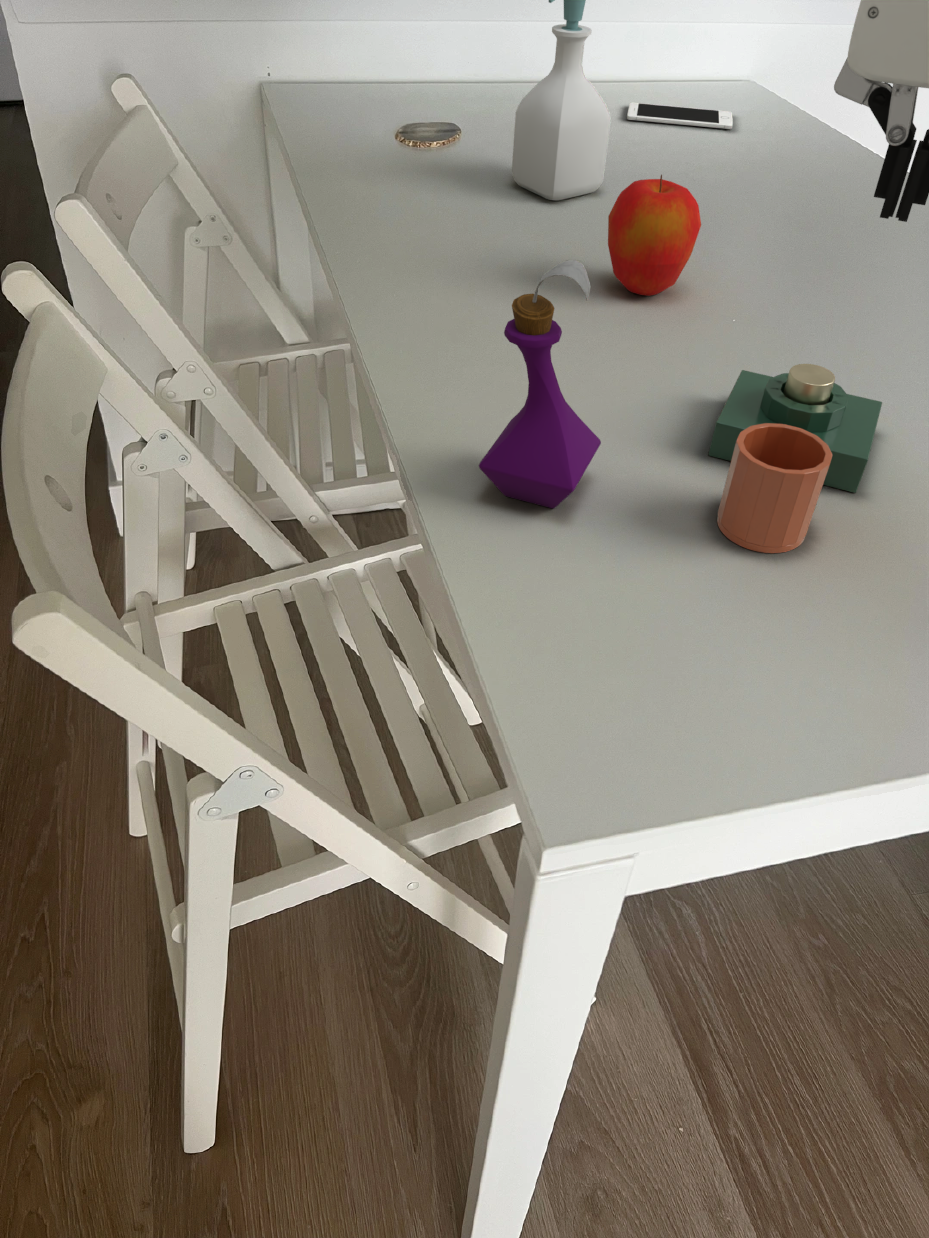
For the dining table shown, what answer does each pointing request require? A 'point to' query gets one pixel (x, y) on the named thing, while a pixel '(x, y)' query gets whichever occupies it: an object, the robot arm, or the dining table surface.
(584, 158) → the soap bottle
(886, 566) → the dining table surface
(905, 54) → the robot arm
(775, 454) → the cup
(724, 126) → the cell phone
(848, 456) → the push button base
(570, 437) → the perfume bottle
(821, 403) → the metal button cap
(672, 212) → the apple
